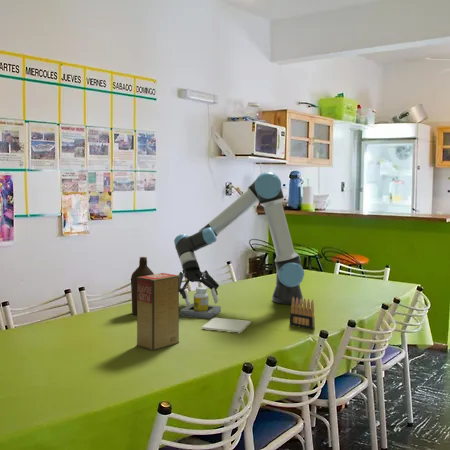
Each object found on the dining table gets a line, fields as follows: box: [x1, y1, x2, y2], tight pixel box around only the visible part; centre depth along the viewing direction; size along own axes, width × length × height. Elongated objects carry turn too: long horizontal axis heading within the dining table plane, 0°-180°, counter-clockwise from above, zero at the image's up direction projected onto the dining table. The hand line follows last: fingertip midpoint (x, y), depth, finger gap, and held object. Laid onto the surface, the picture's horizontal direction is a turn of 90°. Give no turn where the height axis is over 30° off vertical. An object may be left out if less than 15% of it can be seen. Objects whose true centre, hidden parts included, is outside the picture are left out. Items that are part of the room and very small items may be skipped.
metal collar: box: [179, 303, 222, 320], centre depth 249 cm, size 14×14×2 cm
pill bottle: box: [193, 286, 209, 311], centre depth 249 cm, size 6×6×12 cm
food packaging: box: [136, 272, 180, 351], centre depth 202 cm, size 13×9×25 cm
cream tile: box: [201, 317, 252, 334], centre depth 229 cm, size 16×16×1 cm
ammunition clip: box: [289, 297, 316, 330], centre depth 230 cm, size 11×2×12 cm, turn 54°
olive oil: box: [130, 256, 155, 316], centre depth 247 cm, size 11×11×25 cm
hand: (202, 303), depth 247 cm, fingers open, 13 cm apart
